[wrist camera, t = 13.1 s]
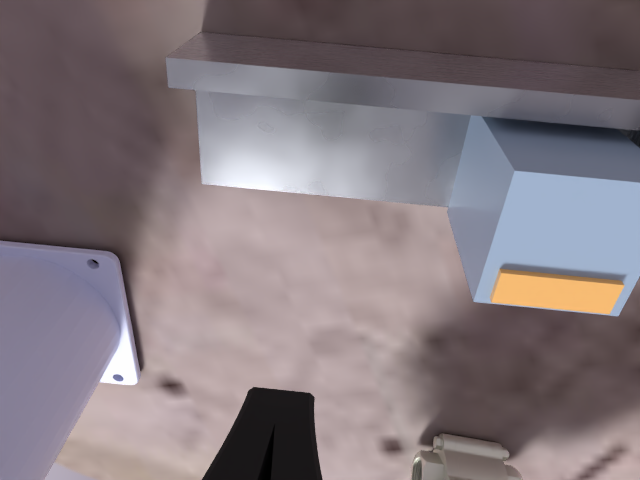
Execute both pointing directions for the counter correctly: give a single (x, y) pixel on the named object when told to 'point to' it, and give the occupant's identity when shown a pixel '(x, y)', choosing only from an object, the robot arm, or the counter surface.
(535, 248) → the block
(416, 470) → the pneumatic valve
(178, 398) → the counter surface
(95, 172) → the counter surface
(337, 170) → the rail
